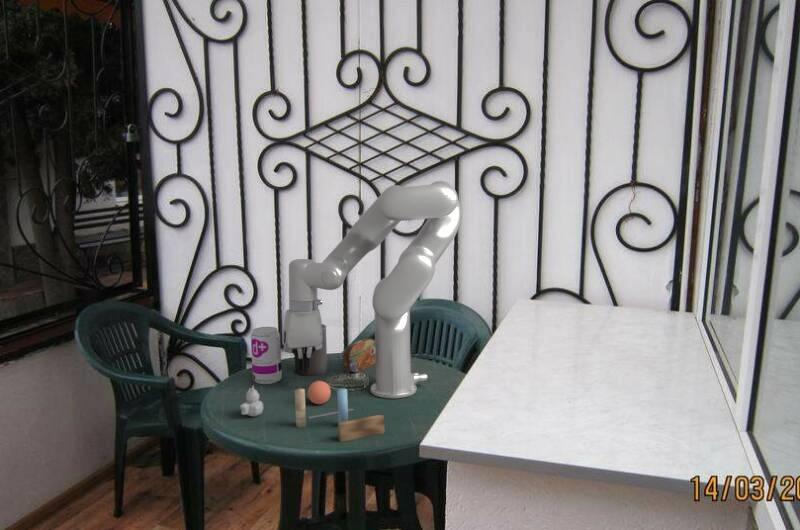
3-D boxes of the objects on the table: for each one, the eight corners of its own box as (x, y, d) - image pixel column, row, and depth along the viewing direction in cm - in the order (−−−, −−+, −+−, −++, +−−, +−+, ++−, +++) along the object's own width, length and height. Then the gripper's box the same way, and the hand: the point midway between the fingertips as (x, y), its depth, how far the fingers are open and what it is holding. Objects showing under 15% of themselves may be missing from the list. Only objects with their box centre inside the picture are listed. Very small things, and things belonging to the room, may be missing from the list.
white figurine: (269, 414, 182) (267, 384, 181) (248, 422, 177) (246, 391, 176) (255, 409, 186) (253, 380, 184) (234, 417, 181) (232, 387, 179)
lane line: (352, 409, 185) (352, 408, 185) (353, 410, 184) (353, 409, 184) (307, 417, 180) (307, 417, 179) (309, 419, 179) (308, 418, 179)
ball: (326, 397, 193) (325, 376, 192) (334, 405, 188) (333, 382, 187) (305, 401, 191) (304, 380, 190) (312, 409, 185) (311, 386, 184)
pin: (346, 423, 176) (345, 387, 174) (349, 426, 174) (348, 390, 172) (337, 425, 175) (335, 389, 173) (340, 428, 172) (339, 392, 171)
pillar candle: (295, 377, 210) (294, 327, 208) (293, 366, 220) (292, 319, 217) (329, 374, 212) (328, 325, 210) (325, 364, 222) (324, 317, 219)
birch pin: (304, 423, 176) (302, 387, 175) (307, 426, 174) (305, 390, 173) (294, 424, 175) (293, 389, 174) (297, 428, 173) (296, 392, 172)
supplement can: (268, 386, 203) (266, 335, 200) (247, 381, 207) (244, 331, 205) (287, 378, 210) (285, 328, 207) (266, 373, 214) (263, 324, 211)
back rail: (381, 430, 171) (381, 414, 170) (384, 432, 169) (384, 416, 169) (338, 439, 166) (337, 423, 165) (340, 442, 165) (340, 425, 164)
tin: (350, 376, 211) (349, 348, 209) (341, 374, 212) (340, 346, 211) (379, 362, 223) (378, 336, 222) (371, 360, 225) (370, 334, 223)
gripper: (324, 300, 200) (324, 363, 203) (272, 304, 193) (272, 370, 197) (334, 306, 193) (333, 371, 196) (280, 310, 187) (280, 378, 190)
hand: (303, 370), depth 197 cm, fingers closed
